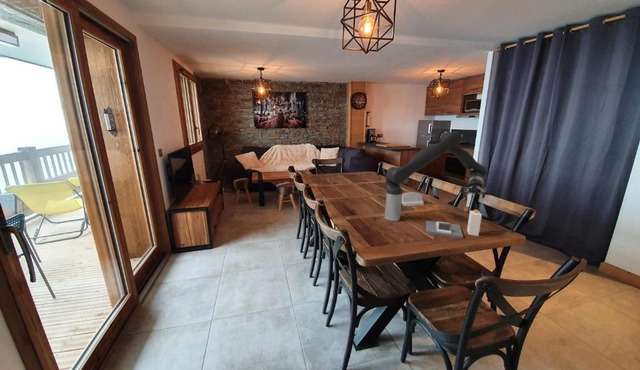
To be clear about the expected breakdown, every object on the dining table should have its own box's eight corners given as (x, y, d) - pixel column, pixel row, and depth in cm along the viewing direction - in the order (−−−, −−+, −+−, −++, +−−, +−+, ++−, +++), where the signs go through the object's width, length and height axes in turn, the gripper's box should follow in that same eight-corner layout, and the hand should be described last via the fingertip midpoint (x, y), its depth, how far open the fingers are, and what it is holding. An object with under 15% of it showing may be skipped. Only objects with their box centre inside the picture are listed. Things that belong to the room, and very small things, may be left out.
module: (468, 234, 137) (472, 211, 134) (467, 230, 143) (470, 207, 139) (478, 235, 135) (482, 212, 132) (476, 231, 141) (479, 208, 137)
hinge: (403, 206, 183) (402, 192, 184) (400, 206, 188) (399, 192, 189) (424, 204, 186) (423, 191, 187) (421, 204, 190) (419, 191, 191)
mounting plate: (426, 233, 139) (426, 229, 138) (426, 222, 153) (426, 219, 153) (462, 238, 132) (463, 235, 132) (459, 227, 147) (459, 223, 146)
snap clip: (438, 228, 139) (439, 223, 138) (438, 227, 141) (438, 222, 140) (449, 230, 137) (450, 225, 136) (449, 228, 139) (450, 223, 138)
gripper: (462, 178, 155) (459, 190, 143) (489, 178, 147) (489, 191, 135) (462, 189, 158) (459, 201, 146) (489, 189, 149) (488, 203, 138)
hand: (473, 196), depth 140 cm, fingers open, 8 cm apart
